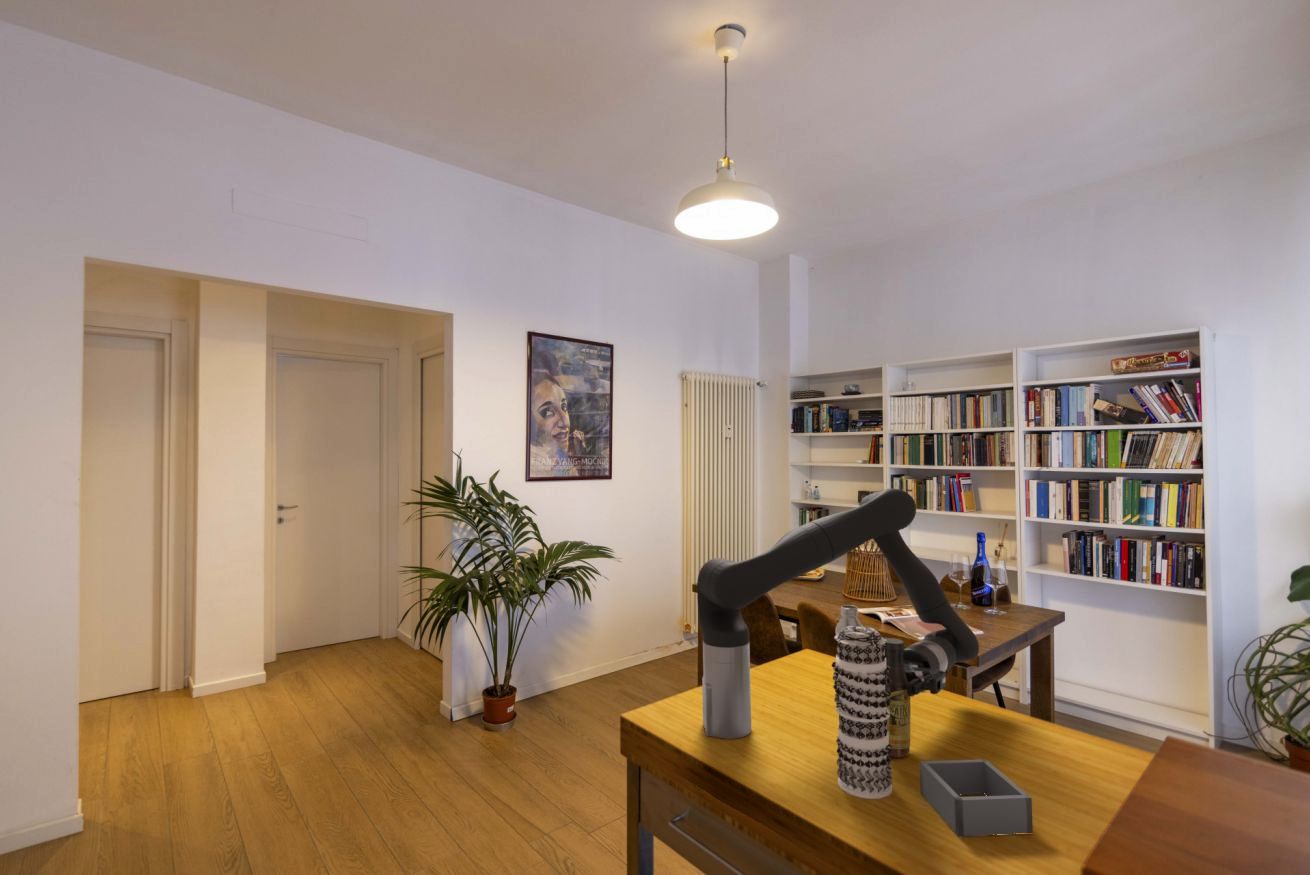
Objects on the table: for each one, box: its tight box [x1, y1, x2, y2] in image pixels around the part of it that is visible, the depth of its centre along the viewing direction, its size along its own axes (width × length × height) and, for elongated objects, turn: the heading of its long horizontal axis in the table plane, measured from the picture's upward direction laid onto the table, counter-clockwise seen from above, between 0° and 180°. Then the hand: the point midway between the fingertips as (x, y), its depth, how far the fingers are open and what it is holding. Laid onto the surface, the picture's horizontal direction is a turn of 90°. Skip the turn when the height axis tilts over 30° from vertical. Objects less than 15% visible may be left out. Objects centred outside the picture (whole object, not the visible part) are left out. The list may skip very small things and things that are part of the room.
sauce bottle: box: [883, 637, 911, 759], centre depth 114 cm, size 6×6×20 cm
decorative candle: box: [831, 625, 893, 800], centre depth 103 cm, size 9×9×25 cm
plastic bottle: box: [834, 604, 863, 688], centre depth 141 cm, size 6×7×20 cm
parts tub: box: [919, 758, 1034, 838], centre depth 94 cm, size 11×12×5 cm
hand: (885, 684), depth 113 cm, fingers open, 8 cm apart
